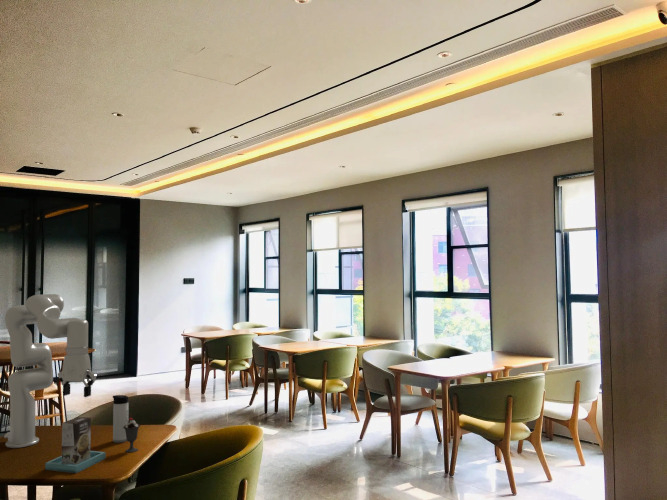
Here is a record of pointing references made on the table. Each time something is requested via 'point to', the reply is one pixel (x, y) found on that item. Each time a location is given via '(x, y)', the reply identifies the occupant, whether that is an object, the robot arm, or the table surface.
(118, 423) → the travel mug
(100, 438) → the table surface
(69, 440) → the coffee box
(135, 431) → the sundae
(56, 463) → the tray
